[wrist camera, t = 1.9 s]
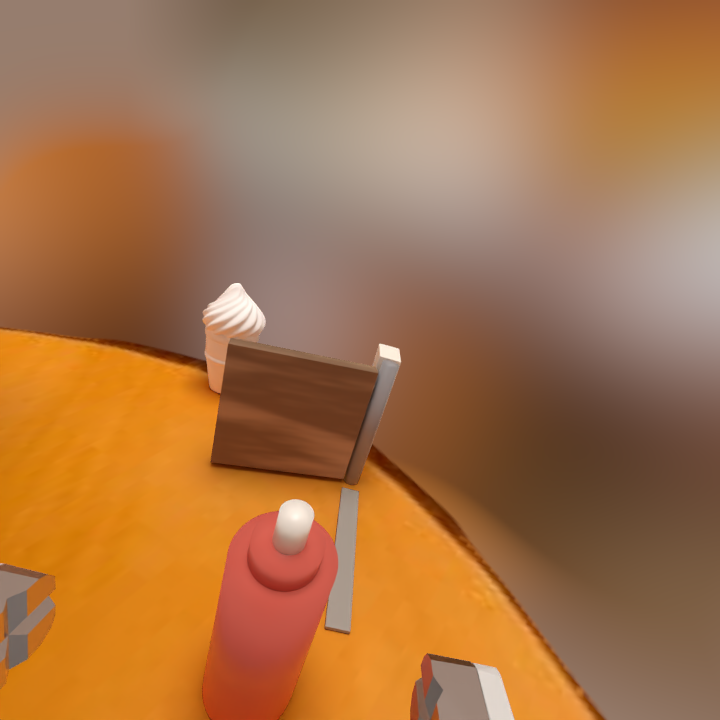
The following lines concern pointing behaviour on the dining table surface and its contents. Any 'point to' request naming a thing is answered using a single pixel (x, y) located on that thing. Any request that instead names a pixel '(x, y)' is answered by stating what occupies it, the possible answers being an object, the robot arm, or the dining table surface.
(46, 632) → the robot arm
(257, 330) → the soft serve ice cream cone
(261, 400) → the door
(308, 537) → the ketchup bottle
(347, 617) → the white-tipped grey slat
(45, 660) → the dining table surface
